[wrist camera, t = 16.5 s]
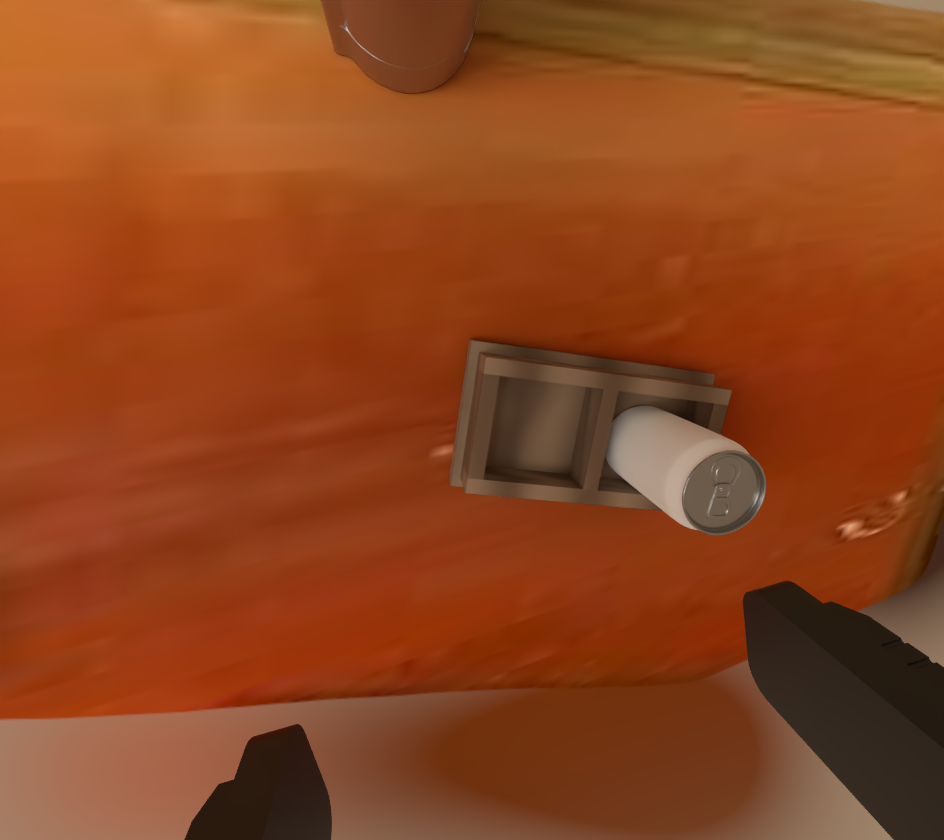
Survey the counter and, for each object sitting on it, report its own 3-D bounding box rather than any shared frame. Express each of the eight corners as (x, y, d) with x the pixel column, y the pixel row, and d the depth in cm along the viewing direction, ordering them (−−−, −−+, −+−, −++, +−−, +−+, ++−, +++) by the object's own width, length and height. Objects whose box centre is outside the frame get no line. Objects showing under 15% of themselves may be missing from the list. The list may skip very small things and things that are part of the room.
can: (678, 405, 42) (782, 445, 31) (667, 477, 44) (762, 541, 32) (606, 402, 41) (685, 443, 30) (597, 476, 43) (669, 542, 31)
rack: (448, 479, 43) (455, 502, 38) (469, 339, 40) (478, 344, 35) (673, 500, 46) (705, 523, 41) (705, 372, 44) (742, 381, 39)
